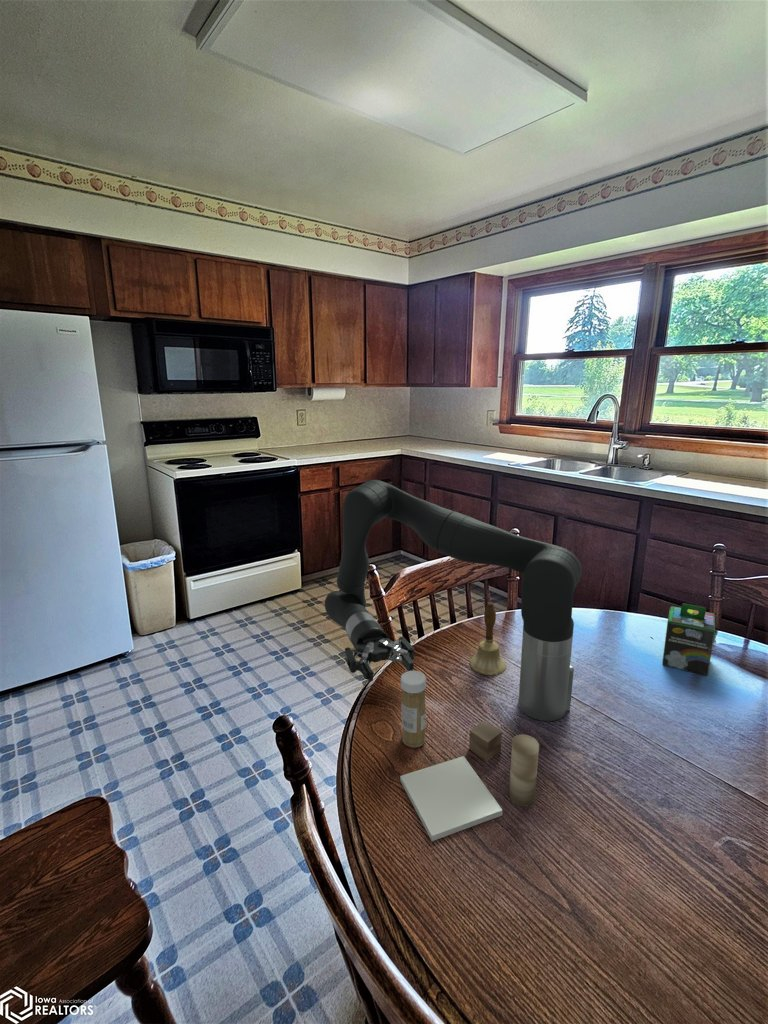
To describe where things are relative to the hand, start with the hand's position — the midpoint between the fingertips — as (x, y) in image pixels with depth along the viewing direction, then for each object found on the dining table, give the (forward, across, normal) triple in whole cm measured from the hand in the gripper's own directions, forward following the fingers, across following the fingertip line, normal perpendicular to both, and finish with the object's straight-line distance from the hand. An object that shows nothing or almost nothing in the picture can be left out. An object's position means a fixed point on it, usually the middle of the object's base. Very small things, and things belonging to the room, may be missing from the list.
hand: (391, 672), depth 99 cm
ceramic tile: (+24, 0, +8) cm, 26 cm away
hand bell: (-6, +26, +8) cm, 28 cm away
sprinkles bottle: (+10, 0, +8) cm, 13 cm away
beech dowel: (+28, +11, +8) cm, 31 cm away
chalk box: (+10, +69, +8) cm, 70 cm away
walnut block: (+17, +11, +8) cm, 22 cm away
